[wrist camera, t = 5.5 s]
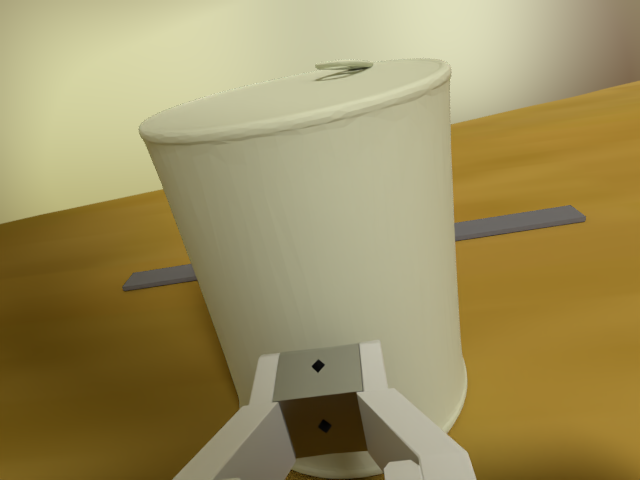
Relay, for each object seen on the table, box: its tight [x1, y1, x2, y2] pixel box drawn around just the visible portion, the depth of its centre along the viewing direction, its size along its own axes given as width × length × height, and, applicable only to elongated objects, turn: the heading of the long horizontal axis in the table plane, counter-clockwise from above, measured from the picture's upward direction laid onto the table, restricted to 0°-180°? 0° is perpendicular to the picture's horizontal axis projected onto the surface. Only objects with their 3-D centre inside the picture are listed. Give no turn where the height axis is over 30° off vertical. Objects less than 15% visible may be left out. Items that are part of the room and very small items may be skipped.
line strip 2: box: [454, 205, 586, 241], centre depth 27 cm, size 8×2×1 cm, turn 89°
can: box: [139, 59, 467, 479], centre depth 15 cm, size 9×9×12 cm
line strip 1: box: [122, 264, 197, 291], centre depth 29 cm, size 8×2×1 cm, turn 89°
